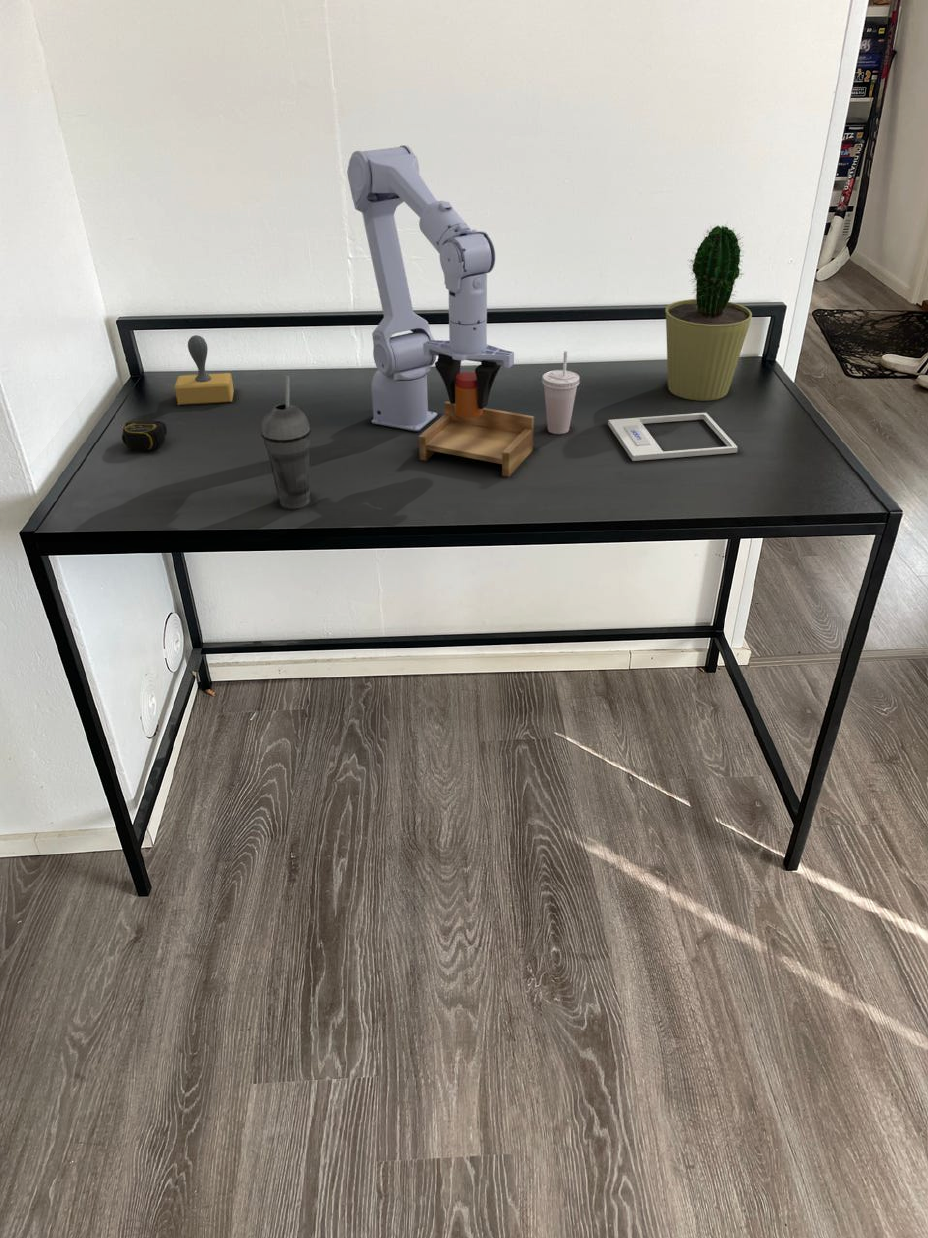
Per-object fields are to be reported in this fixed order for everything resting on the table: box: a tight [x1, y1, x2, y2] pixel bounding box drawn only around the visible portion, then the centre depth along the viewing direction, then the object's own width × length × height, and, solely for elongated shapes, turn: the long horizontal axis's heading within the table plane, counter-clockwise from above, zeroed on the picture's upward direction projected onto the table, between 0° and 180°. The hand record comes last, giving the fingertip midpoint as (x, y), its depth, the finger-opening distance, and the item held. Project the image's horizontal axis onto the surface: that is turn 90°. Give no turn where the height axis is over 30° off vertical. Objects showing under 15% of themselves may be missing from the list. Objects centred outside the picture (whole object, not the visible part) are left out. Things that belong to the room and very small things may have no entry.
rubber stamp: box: [174, 334, 235, 406], centre depth 176 cm, size 10×6×12 cm, turn 97°
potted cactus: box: [664, 221, 753, 401], centre depth 172 cm, size 15×15×30 cm
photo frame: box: [607, 412, 739, 462], centre depth 162 cm, size 15×1×18 cm
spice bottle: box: [455, 371, 483, 418], centre depth 150 cm, size 4×4×6 cm
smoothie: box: [541, 350, 580, 435], centre depth 162 cm, size 6×6×14 cm
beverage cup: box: [260, 375, 312, 510], centre depth 140 cm, size 7×7×20 cm
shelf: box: [418, 400, 535, 478], centre depth 156 cm, size 16×11×6 cm, turn 65°
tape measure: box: [121, 420, 168, 451], centre depth 161 cm, size 7×7×4 cm
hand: (468, 404), depth 151 cm, fingers closed on spice bottle, 4 cm apart
